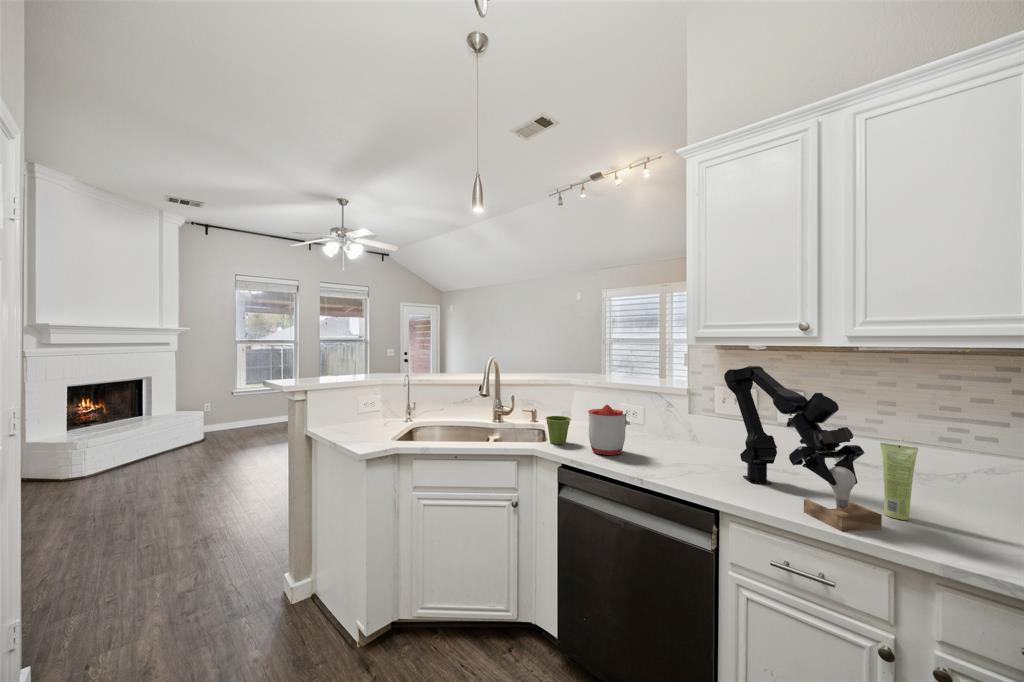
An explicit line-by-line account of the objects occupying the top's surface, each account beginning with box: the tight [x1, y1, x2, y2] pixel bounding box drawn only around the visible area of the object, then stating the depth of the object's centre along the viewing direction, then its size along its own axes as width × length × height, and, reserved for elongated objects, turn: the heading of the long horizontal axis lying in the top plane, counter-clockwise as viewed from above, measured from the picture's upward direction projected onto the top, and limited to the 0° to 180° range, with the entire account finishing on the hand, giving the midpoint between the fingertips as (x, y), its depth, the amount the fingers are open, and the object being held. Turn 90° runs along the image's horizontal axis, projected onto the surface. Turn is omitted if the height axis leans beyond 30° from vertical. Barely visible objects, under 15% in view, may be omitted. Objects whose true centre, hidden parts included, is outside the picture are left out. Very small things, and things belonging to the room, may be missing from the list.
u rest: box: [803, 498, 883, 532], centre depth 110 cm, size 11×11×4 cm
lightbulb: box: [827, 466, 856, 509], centre depth 110 cm, size 6×6×11 cm
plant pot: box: [544, 415, 572, 445], centre depth 190 cm, size 12×12×11 cm
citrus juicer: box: [587, 404, 631, 456], centre depth 175 cm, size 16×17×20 cm
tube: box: [879, 442, 919, 521], centre depth 113 cm, size 6×5×20 cm
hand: (845, 484), depth 109 cm, fingers closed on lightbulb, 6 cm apart
